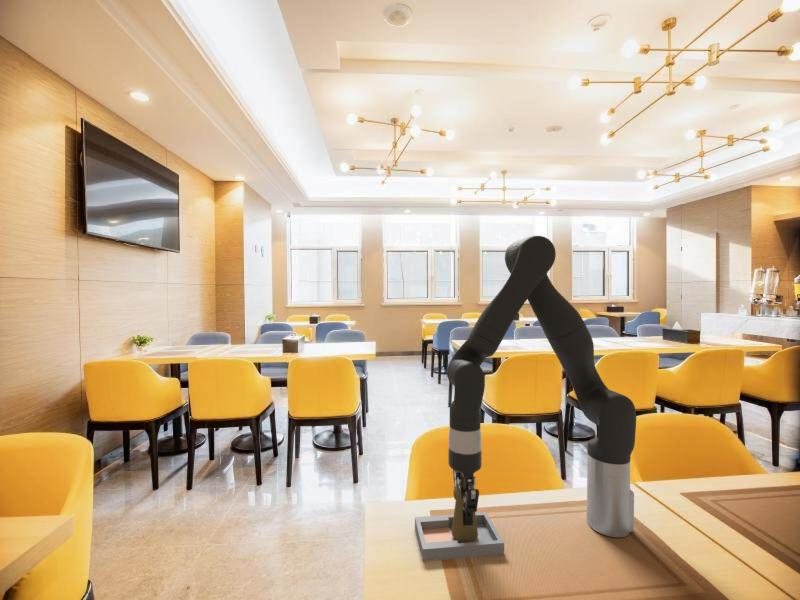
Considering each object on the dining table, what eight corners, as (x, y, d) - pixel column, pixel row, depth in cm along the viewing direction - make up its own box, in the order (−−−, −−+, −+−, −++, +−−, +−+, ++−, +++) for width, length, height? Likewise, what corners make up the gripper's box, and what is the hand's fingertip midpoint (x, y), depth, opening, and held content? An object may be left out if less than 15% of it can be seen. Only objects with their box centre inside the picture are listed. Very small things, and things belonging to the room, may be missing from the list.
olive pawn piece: (478, 543, 84) (478, 494, 83) (450, 540, 85) (450, 491, 85) (478, 527, 90) (478, 481, 89) (452, 523, 91) (452, 478, 91)
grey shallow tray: (486, 522, 94) (486, 512, 94) (504, 554, 82) (504, 542, 82) (414, 527, 92) (414, 517, 92) (422, 561, 80) (422, 549, 80)
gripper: (491, 458, 80) (491, 538, 81) (471, 433, 94) (471, 501, 95) (456, 460, 79) (456, 540, 80) (442, 434, 94) (442, 503, 94)
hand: (464, 519), depth 87 cm, fingers closed on olive pawn piece, 4 cm apart
